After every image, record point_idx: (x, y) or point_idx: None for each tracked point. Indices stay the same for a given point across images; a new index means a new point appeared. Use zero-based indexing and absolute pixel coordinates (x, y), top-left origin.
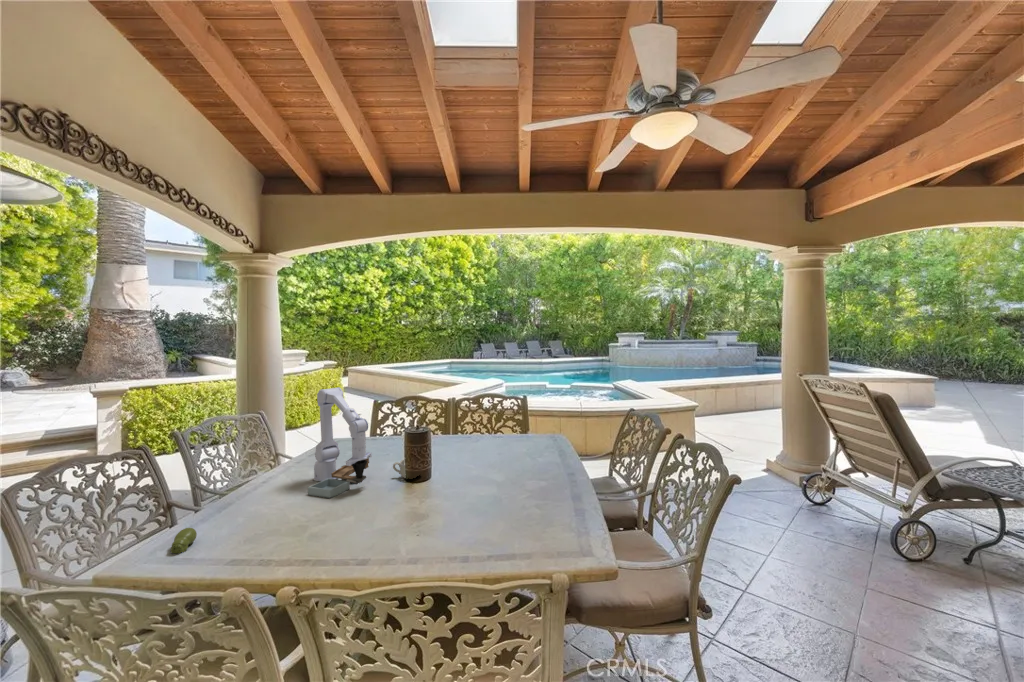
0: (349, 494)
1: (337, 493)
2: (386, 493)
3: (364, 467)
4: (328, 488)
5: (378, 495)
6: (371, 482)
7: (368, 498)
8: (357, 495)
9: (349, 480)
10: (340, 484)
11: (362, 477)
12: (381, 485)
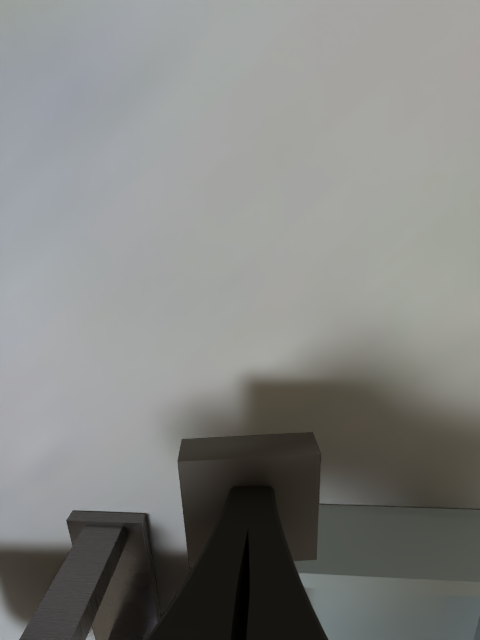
0: (377, 426)
1: (421, 518)
2: (219, 55)
3: (163, 632)
4: (332, 632)
5: (310, 111)
6: (50, 434)
7: (430, 163)
8: (379, 341)
9: (127, 599)
10: None
11: (243, 472)
12: (56, 297)
